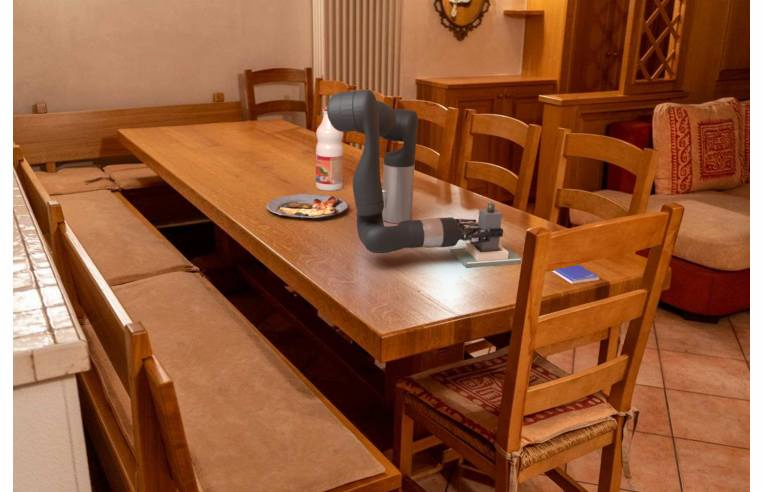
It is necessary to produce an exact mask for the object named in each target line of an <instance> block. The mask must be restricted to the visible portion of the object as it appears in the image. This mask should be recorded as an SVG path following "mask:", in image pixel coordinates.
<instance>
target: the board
mask: <svg viewBox="0 0 764 492" xmlns="http://www.w3.org/2000/svg"><path fill="white" fill-rule="evenodd" d="M449 252H451V253H452V254H453V255H454V256H455V257H456V258H457V259H458V260H459V261H460V262H461V263H460V262H459V261H458V260H457V259H456V260H457V261H458V262H459V263H460V264H461V265H462V266H463V267H464V268H465V269H467V268H468V269H469V268H478V267H479V268H480V267H481V268H482V266H483V267H493V265H496V266H503V265H502V264H510V265H516V264H515V263H518V264H517V265H520V264H521V259H523V258H521V257H520V256H519V255H518V254H517V253H515V252H514V251H513V250H512V249H510V248H509V246H507V245H505V244H504V245H501V244H500V243H499V247H498V251H494V252H480V251H478V250H477V249H476V244H474V245H472V244H471V242H466V243H465V247H460V248H450V251H449ZM451 253H450V254H451ZM452 254H451V255H452ZM453 255H452V256H453ZM454 256H453V257H454ZM455 257H454V258H455ZM519 263H520V264H519ZM521 265H522V264H521Z"/></svg>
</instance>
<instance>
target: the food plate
mask: <svg viewBox="0 0 764 492" xmlns="http://www.w3.org/2000/svg"><path fill="white" fill-rule="evenodd" d="M349 207H350V205H349V203H348V202H347V201H346V200H345V199H342V198H341V197H335V196H334V195H324V194H314V193H313V194H312V193H311V194H310V193H309V194H308V193H302V194H301V193H299V194H292V195H283V196H280V197H276V198H275V199H274V198H273V199H272V200H271V201H270V202H268V203H267V204H266V208H267V209H268V210H269V211H270V212H272V213H273V214H277V215H279V216H287V217H291V218H301V219H304V218H309V219H311V218H312V219H321V218H327V217H333V216H336V215H340V214H342V213H344V212H345V211H346V210H347V209H349Z"/></svg>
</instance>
